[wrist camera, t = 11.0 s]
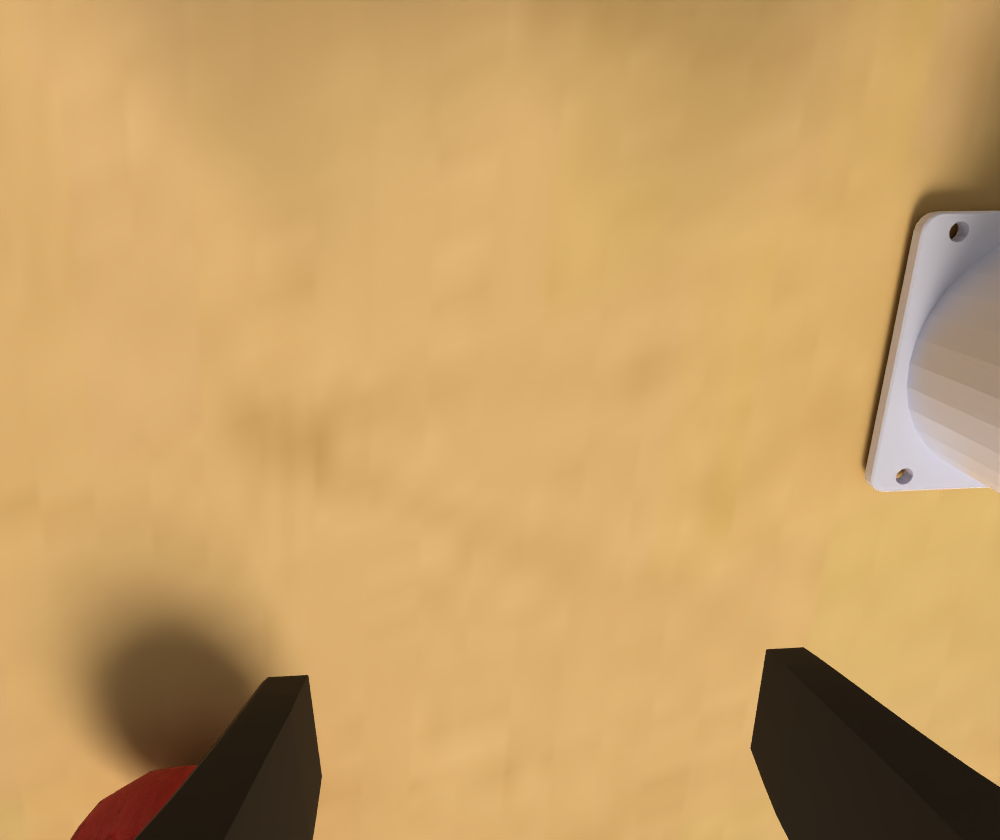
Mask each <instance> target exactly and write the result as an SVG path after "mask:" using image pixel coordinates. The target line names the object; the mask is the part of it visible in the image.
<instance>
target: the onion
mask: <svg viewBox="0 0 1000 840" xmlns="http://www.w3.org/2000/svg"><path fill="white" fill-rule="evenodd" d="M196 766H197V765H188V766H180V767H172V768H165V769H160V770H155V771H150V772H148V773H147V774H145V775H143V776H142V777H140V778H138V779H136V780H135V781H133V782H131V783H130V784H128V785H126V786H124V787H123V788H121V789H120V790H118V791H116V792H115V793H113V794H111V795H110V796H108V797H106V798H105V799H103V800H102V801H100V802H99V803H98V804H97V806H96V807H95V808H94V809H93V810H92V811H91V813H90V814H89V815H88V816H87V817H86V819H85V820H84V821H83V822H82V823H81V825H80V826H79V827H78V829H77V830H76V832H75V833H74V835H73V836H72V838H71V839H70V840H134V838H135V837H136V836H137V835H138V834H139V833H140V832H141V831H142V830H143V828H144V827H145V826H146V825H147V824H148V823H149V822H150V821H151V820H152V818H153V817H154V816H155V815H156V814H157V813H158V812H159V811H160V809H161V808H162V807H163V806H164V805H165V804H166V803H167V801H168V800H169V799H170V798H171V797H172V795H173V794H174V793H175V792H176V791H177V789H178V788H179V787H180V786H181V785H182V783H183V782H184V781H185V780H186V779H187V777H188V776H189V775H190V774H191V773H192V771H193V770H194V769H195V768H196Z"/></svg>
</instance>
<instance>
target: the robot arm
mask: <svg viewBox="0 0 1000 840" xmlns="http://www.w3.org/2000/svg"><path fill="white" fill-rule="evenodd" d="M955 223H957V225H958V232H957V234H956V236H955V237H954V238H952V239H950V237H949V231H950V229H951V227H952V226H953V225H954V224H955ZM902 469H905V471H904V473H903V475H902V476H900V477H899V478H896V476H897V474H898V472H899V471H901V470H902ZM865 479H866V481H867V483H868V484H869V485H871V486H872V487H873V488H875V489H876V490H878V491H883V492H888V491H912V490H937V489H961V488H986V487H990V488H991V489H993V490H995V491H997V492H998V493H1000V210H998V211H935V212H930V213H928V214H926V215H924V216H923V217H921V219H920V220H919V221H918V222H917V224H916V226H915V229H914V231H913V236H912V241H911V246H910V251H909V256H908V261H907V266H906V271H905V276H904V281H903V286H902V291H901V296H900V301H899V306H898V311H897V316H896V321H895V326H894V331H893V336H892V341H891V346H890V351H889V356H888V361H887V366H886V371H885V376H884V381H883V386H882V391H881V396H880V401H879V406H878V411H877V416H876V421H875V426H874V431H873V436H872V441H871V446H870V451H869V456H868V461H867V466H866V471H865ZM751 751H752V754H753V756H754V759H755V762H756V764H757V767H758V770H759V772H760V775H761V778H762V780H763V783H764V786H765V788H766V791H767V793H768V796H769V798H770V800H771V803H772V805H773V808H774V810H775V813H776V815H777V817H778V819H779V821H780V823H781V825H782V827H783V829H784V831H785V833H786V835H787V837H788V839H789V840H1000V787H999V786H997V785H996V784H994V783H993V782H991V781H990V780H988V779H987V778H985V777H984V776H982V775H981V774H979V773H978V772H976V771H975V770H973V769H972V768H970V767H969V766H967V765H966V764H964V763H963V762H962V761H960V760H959V759H957V758H956V757H954V756H953V755H951V754H950V753H948V752H947V751H946V750H944V749H943V748H941V747H940V746H939V745H937V744H936V743H934V742H933V741H932V740H930V739H929V738H927V737H926V736H925V735H923V734H922V733H920V732H919V731H918V730H916V729H915V728H913V727H912V726H911V725H909V724H908V723H907V722H905V721H904V720H902V719H901V718H900V717H898V716H897V715H896V714H894V713H893V712H892V711H890V710H889V709H887V708H886V707H885V706H883V705H882V704H881V703H879V702H878V701H877V700H875V699H874V698H873V697H871V696H870V695H869V694H867V693H866V692H864V691H863V690H862V689H860V688H859V687H858V686H856V685H855V684H854V683H852V682H851V681H850V680H848V679H847V678H846V677H844V676H843V675H842V674H840V673H839V672H838V671H836V670H835V669H833V668H832V667H831V666H829V665H828V664H827V663H825V662H824V661H822V660H821V659H820V658H818V657H817V656H815V655H814V654H812V653H811V652H809V651H808V650H807V649H805V648H804V647H801V648H783V649H766V655H765V661H764V667H763V674H762V680H761V686H760V692H759V699H758V705H757V711H756V717H755V724H754V730H753V736H752V742H751ZM321 779H322V774H321V766H320V759H319V752H318V744H317V737H316V729H315V722H314V714H313V707H312V700H311V692H310V685H309V677H308V675H301V676H283V677H268V678H267V679H266V680H265V681H264V682H263V683H261V685H260V686H259V687H258V689H257V690H256V691H255V693H254V694H253V695H252V696H251V698H250V699H249V700H248V702H247V703H246V704H245V706H244V707H243V708H242V710H241V711H240V712H239V714H238V715H237V716H236V717H235V719H234V720H233V721H232V723H231V724H230V725H229V726H228V728H227V729H226V730H225V732H224V733H223V734H222V735H221V737H220V738H219V739H218V740H217V742H216V743H215V744H214V746H213V747H212V748H211V749H210V751H209V752H208V753H207V754H206V756H205V757H204V758H203V759H202V760H201V762H200V763H199V764H198V765H197V766H196V768H195V769H194V770H193V771H192V773H191V774H190V775H189V776H188V777H187V779H186V780H185V781H184V782H183V783H182V785H181V786H180V787H179V788H178V789H177V791H176V792H175V793H174V794H173V795H172V797H171V798H170V799H169V800H168V801H167V803H166V804H165V805H164V806H163V807H162V808H161V809H160V811H159V812H158V813H157V814H156V815H155V816H154V817H153V818H152V820H151V821H150V822H149V823H148V824H147V825H146V826H145V827H144V828H143V830H142V831H141V832H140V833H139V834H138V835H137V836H136V837H135V838H134V840H313V834H314V828H315V821H316V815H317V808H318V800H319V793H320V786H321Z"/></svg>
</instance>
